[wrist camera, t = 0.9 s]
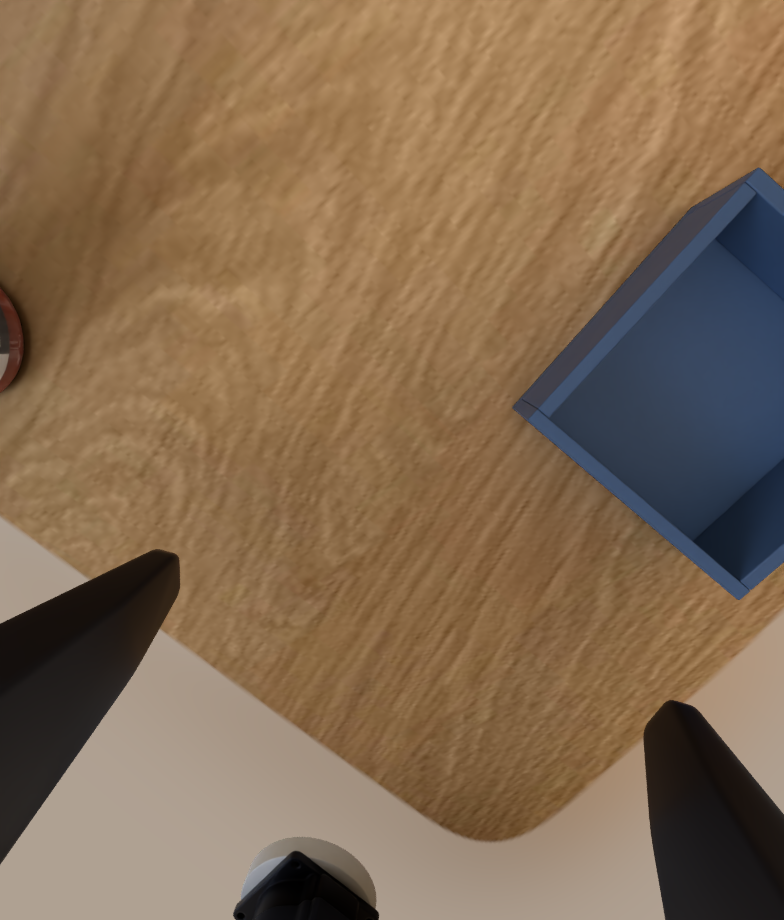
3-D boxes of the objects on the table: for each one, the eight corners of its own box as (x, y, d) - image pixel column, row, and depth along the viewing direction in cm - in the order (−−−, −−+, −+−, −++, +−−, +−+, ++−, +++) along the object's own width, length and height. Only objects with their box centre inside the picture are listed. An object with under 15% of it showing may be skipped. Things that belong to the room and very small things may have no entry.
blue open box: (684, 554, 21) (739, 601, 17) (511, 407, 20) (526, 420, 16) (879, 376, 18) (996, 382, 14) (691, 206, 18) (759, 165, 14)
